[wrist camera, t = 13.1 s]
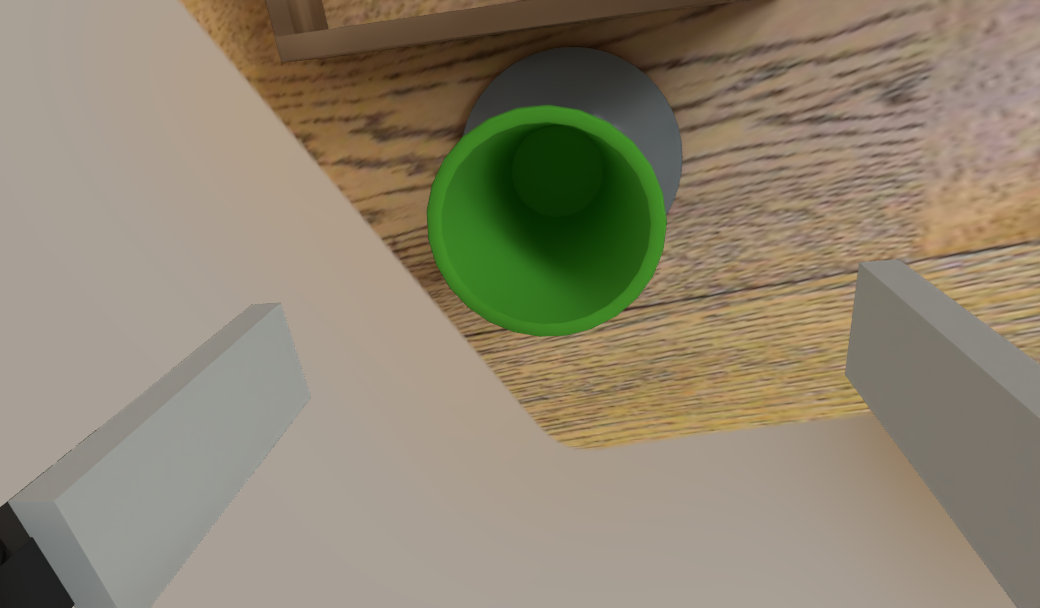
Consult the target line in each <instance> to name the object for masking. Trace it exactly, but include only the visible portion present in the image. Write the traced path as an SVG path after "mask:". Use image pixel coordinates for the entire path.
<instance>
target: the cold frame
mask: <svg viewBox="0 0 1040 608" xmlns="http://www.w3.org/2000/svg"><path fill="white" fill-rule="evenodd" d="M265 1H266V5H267V9H268V12H269V16H270V20H271V23H272V27H273V31H274V35H275V40H276V43H277V47H278V51H279V55H280V58H281V62H292V61H302V60H312V59H321V58H328V57H336V56H343V55H350V54H357V53H365V52H372V51H379V50H387V49H394V48H401V47H408V46H416V45H423V44H430V43H438V42H445V41H452V40H460V39H467V38H474V37H481V36H489V35H496V34H503V33H511V32H518V31H525V30H532V29H540V28H547V27H554V26H562V25H569V24H576V23H583V22H591V21H598V20H605V19H613V18H620V17H627V16H634V15H642V14H649V13H656V12H664V11H671V10H678V9H686V8H693V7H700V6H707V5H715V4H722V3H729V2H737V1H744V0H527V1H520V2H513V3H506V4H499V5H493V6H486V7H479V8H472V9H465V10H458V11H451V12H444V13H437V14H430V15H424V16H417V17H410V18H403V19H396V20H389V21H382V22H375V23H368V24H361V25H354V26H348V27H341V28H334V29H328V26H327V22H326V17H325V13H324V9H323V4H322V0H265Z"/></svg>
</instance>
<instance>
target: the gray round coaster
mask: <svg viewBox="0 0 1040 608" xmlns="http://www.w3.org/2000/svg"><path fill="white" fill-rule="evenodd" d="M541 105H553V106H560V107H566V108H572V109H579V110H582V111H584V112H586V113H589V114H591V115H593V116H596V117H598V118H600V119H602V120H605V121H607V122H609V123H610V124H612V125H613V126H614V127H615V128H617V129H618V130H619V131H621V132H622V133H623V134H624V135H626V136H627V137H628V138H629V139H631V140H632V141H633V142H634V143H635V144H636V146H637V147H638V148H639V150H640V151H641V152H642V154H643V155H644V156H645V158H646V159H647V160H648V162H649V163H650V164H651V166H652V168H653V170H654V173H655V175H656V177H657V180H658V182H659V185H660V187H661V190H662V192H663V197H664V204H665V212H666V215H667V213H668V211H669V209H670V207H671V205H672V203H673V201H674V198H675V195H676V192H677V189H678V186H679V181H680V176H681V171H682V144H681V138H680V133H679V128H678V125H677V122H676V119H675V116H674V114H673V111H672V109H671V107H670V106H669V104H668V102H667V100H666V98H665V97H664V95H663V94H662V93H661V91H660V90H659V88H658V87H657V86H656V85H655V84H654V83H653V82H652V81H651V80H650V79H649V78H648V76H647V75H646V74H644V73H643V72H642V71H640V70H639V69H638V68H636V67H635V66H634V65H633V64H631V63H629V62H627V61H625V60H624V59H622V58H620V57H618V56H616V55H613V54H610V53H608V52H605V51H601V50H597V49H593V48H585V47H559V48H554V49H549V50H545V51H542V52H539V53H536V54H533V55H530V56H528V57H526V58H524V59H522V60H520V61H518V62H516V63H514V64H513V65H512V66H510V67H509V68H507V69H506V70H505V71H503V72H502V73H501V74H500V75H499V76H497V77H496V78H495V79H494V80H493V81H492V82H491V83H490V84H489V86H488V87H487V88H486V89H485V90H484V92H483V93H482V94H481V96H480V97H479V99H478V100H477V102H476V104H475V105H474V107H473V109H472V111H471V113H470V116H469V118H468V120H467V123H466V126H465V130H464V133H463V136H464V135H465V134H467V133H468V132H470V131H471V130H472V129H474V128H475V127H477V126H478V125H480V124H481V123H482V122H484V121H485V120H487V119H488V118H491V117H494V116H496V115H499V114H502V113H504V112H507V111H510V110H513V109H515V108H520V107H531V106H541Z"/></svg>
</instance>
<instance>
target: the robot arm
mask: <svg viewBox="0 0 1040 608" xmlns="http://www.w3.org/2000/svg"><path fill="white" fill-rule="evenodd" d="M845 375H846V377H847V378H848V379H849V381H850V382H851V383H852V385H853V386H854V388H855V389H856V390H857V392H858V393H859V394H860V396H861V397H862V398H863V400H864V401H865V402H866V404H867V405H868V406H869V408H870V409H871V411H872V412H873V413H874V415H875V416H876V417H877V419H878V420H879V421H880V423H881V424H882V425H883V427H884V428H885V429H886V431H887V432H888V433H889V435H890V436H891V438H892V439H893V440H894V442H895V443H896V444H897V446H898V447H899V448H900V450H901V451H902V452H903V454H904V455H905V457H906V458H907V459H908V461H909V462H910V463H911V465H912V466H913V467H914V469H915V470H916V472H917V473H918V474H919V476H920V477H921V478H922V479H923V481H924V482H925V484H926V485H927V486H928V488H929V489H930V491H931V492H932V493H933V494H934V496H935V497H936V499H937V500H938V501H939V503H940V504H941V505H942V507H943V508H944V509H945V511H946V512H947V513H948V515H949V516H950V518H951V519H952V520H953V522H954V523H955V524H956V526H957V527H958V528H959V530H960V531H961V533H962V534H963V535H964V537H965V538H966V539H967V541H968V542H969V543H970V545H971V546H972V547H973V549H974V550H975V551H976V553H977V554H978V556H979V557H980V558H981V560H982V561H983V562H984V564H985V565H986V566H987V568H988V569H989V570H990V572H991V573H992V575H993V576H994V577H995V579H996V580H997V581H998V583H999V584H1000V585H1001V586H1002V588H1003V589H1004V591H1005V592H1006V593H1007V595H1008V596H1009V598H1010V599H1011V600H1012V602H1013V603H1014V604H1015V606H1016V607H1017V608H1040V364H1039V363H1037V362H1036V361H1035V360H1033V359H1032V358H1030V357H1029V356H1028V355H1026V354H1025V353H1024V352H1022V351H1021V350H1020V349H1018V348H1017V347H1016V346H1014V345H1013V344H1012V343H1010V342H1009V341H1008V340H1006V339H1005V338H1004V337H1002V336H1001V335H1000V334H998V333H997V332H996V331H994V330H993V329H992V328H990V327H989V326H987V325H986V324H985V323H983V322H982V321H981V320H979V319H978V318H977V317H975V316H974V315H973V314H971V313H970V312H969V311H967V310H966V309H965V308H963V307H962V306H961V305H959V304H958V303H957V302H955V301H954V300H953V299H951V298H950V297H949V296H947V295H946V294H944V293H943V292H942V291H940V290H939V289H938V288H936V287H935V286H934V285H932V284H931V283H930V282H928V281H927V280H926V279H924V278H923V277H922V276H920V275H919V274H918V273H916V272H915V271H914V270H912V269H911V268H910V267H908V266H907V265H906V264H904V263H903V262H901V261H900V260H885V261H870V262H859V268H858V275H857V283H856V291H855V299H854V307H853V315H852V323H851V331H850V338H849V346H848V354H847V362H846V370H845ZM310 398H311V396H310V393H309V390H308V386H307V384H306V380H305V378H304V374H303V371H302V368H301V365H300V362H299V359H298V355H297V352H296V349H295V346H294V343H293V340H292V337H291V334H290V331H289V327H288V325H287V321H286V318H285V315H284V312H283V309H282V306H281V303H269V304H255V305H251V306H250V307H248V308H247V309H246V310H245V311H243V312H242V313H241V314H240V315H238V316H237V317H236V318H235V319H233V320H232V321H231V322H230V323H229V324H227V325H226V326H225V327H223V328H222V329H221V330H220V331H219V332H217V333H216V334H215V335H214V336H212V337H211V338H210V339H209V340H207V341H206V342H205V343H204V344H203V345H201V346H200V347H199V348H197V349H196V350H195V351H194V352H193V353H191V354H190V355H189V356H188V357H186V358H185V359H184V360H183V361H181V362H180V363H179V364H178V365H176V366H175V367H174V368H173V369H171V370H170V371H169V372H168V373H167V374H165V375H164V376H163V377H162V378H160V379H159V380H158V381H157V382H156V383H154V384H153V385H152V386H151V387H150V388H148V389H147V390H146V391H144V392H143V393H142V394H141V395H139V396H138V397H137V398H136V399H134V400H133V401H132V402H131V403H130V404H128V405H127V406H126V407H124V408H123V409H122V410H121V411H120V412H118V413H117V414H116V415H115V416H113V417H112V418H111V419H110V420H108V421H107V422H106V423H105V424H103V425H102V426H101V427H99V428H98V429H97V430H95V431H94V432H93V433H92V434H90V435H89V436H88V437H87V438H86V439H84V440H83V441H82V442H81V443H79V444H78V445H77V446H76V447H75V448H74V449H73V450H71V451H69V452H68V453H67V454H66V455H64V456H63V457H62V458H61V459H59V460H58V461H57V462H56V463H55V464H54V465H52V466H51V467H50V468H48V469H47V470H46V471H45V472H43V473H42V474H41V475H40V476H38V477H37V478H36V479H35V480H34V481H32V482H31V483H30V484H29V485H27V486H26V487H25V488H24V489H22V490H21V491H20V492H19V493H17V494H16V495H15V496H14V497H13V498H11V499H10V500H9V501H8V502H6V503H5V504H4V505H2V506H1V507H0V608H72V607H73V606H74V607H75V608H151V606H152V605H153V604H154V602H155V601H156V600H157V599H158V597H159V596H160V595H161V593H162V592H163V591H164V589H165V588H166V587H167V585H168V584H169V583H170V582H171V580H172V579H173V578H174V576H175V575H176V574H177V572H178V571H179V570H180V568H181V567H182V566H183V564H184V563H185V562H186V561H187V559H188V558H189V557H190V555H191V554H192V553H193V551H194V550H195V549H196V547H197V546H198V544H200V542H201V541H202V540H203V538H204V537H205V536H206V534H207V533H208V532H209V530H210V529H211V528H212V526H213V525H214V524H215V523H216V521H217V520H218V519H219V517H220V516H221V515H222V513H223V512H224V511H225V509H226V508H227V507H228V506H229V504H230V503H231V502H232V500H233V499H234V498H235V496H236V495H237V494H238V492H239V491H240V489H241V488H242V487H243V486H244V485H245V483H246V482H247V481H248V479H249V478H250V477H251V475H252V474H253V473H254V471H255V470H256V469H257V467H258V466H259V465H260V463H261V462H262V461H263V460H264V458H265V457H266V456H267V454H268V453H269V452H270V450H271V449H272V448H273V447H274V445H275V444H276V443H277V441H278V440H279V439H280V437H281V436H282V435H283V433H284V432H285V431H286V429H287V428H288V427H289V425H290V424H291V423H292V422H293V420H294V419H295V418H296V416H297V415H298V413H299V412H300V411H301V410H302V408H303V407H304V406H305V405H306V403H307V402H308V401H309V399H310Z"/></svg>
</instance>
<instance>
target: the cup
mask: <svg viewBox="0 0 1040 608" xmlns="http://www.w3.org/2000/svg"><path fill="white" fill-rule="evenodd" d="M427 225H428V239H429V243H430V246H431V249H432V253H433V256H434V259H435V262H436V265H437V267H438V269H439V270H440V272H441V274H442V275H443V277H444V279H445V281H446V282H447V284H448V286H449V287H450V288H451V290H452V291H453V292H454V293H455V294H456V295H457V296H458V297H459V298H460V299H461V300H462V301H463V302H464V303H465V304H466V306H467V307H468V308H470V309H471V310H473V311H474V312H476V313H477V314H479V315H480V316H482V317H483V318H484V319H486V320H487V321H489V322H490V323H493V324H495V325H498V326H500V327H503V328H505V329H508V330H510V331H513V332H517V333H522V334H528V335H534V336H540V337H541V336H564V335H570V334H573V333H577V332H581V331H585V330H589V329H592V328H594V327H596V326H598V325H600V324H602V323H604V322H606V321H608V320H610V319H611V318H613V317H615V316H617V315H618V314H619V313H620V312H622V311H623V310H624V309H625V308H626V307H627V306H629V305H630V304H631V303H632V302H633V301H634V300H636V299H637V298H638V296H639V295H640V293H641V292H642V291H643V289H644V288H645V286H646V285H647V284H648V282H649V281H650V280H651V278H652V277H653V275H654V272H655V270H656V267H657V265H658V262H659V260H660V257H661V255H662V252H663V248H664V241H665V233H666V225H667V220H666V212H665V204H664V197H663V192H662V190H661V187H660V185H659V182H658V180H657V177H656V175H655V173H654V170H653V168H652V166H651V164H650V163H649V162H648V160H647V159H646V158H645V156H644V155H643V154H642V152H641V151H640V150H639V148H638V147H637V146H636V144H635V143H634V142H633V141H632V140H631V139H629V138H628V137H627V136H626V135H624V134H623V133H622V132H621V131H619V130H618V129H617V128H615V127H614V126H613V125H612V124H610V123H609V122H607V121H605V120H602V119H600V118H598V117H596V116H593V115H591V114H589V113H586V112H584V111H582V110H579V109H572V108H566V107H560V106H553V105H541V106H531V107H520V108H515V109H513V110H510V111H507V112H504V113H502V114H499V115H496V116H494V117H491V118H488V119H487V120H485V121H484V122H482V123H481V124H480V125H478V126H477V127H475V128H474V129H472V130H471V131H470V132H468V133H467V134H465V135H464V136H463V137H462V138H461V139H460V140H459V142H458V143H457V144H456V145H455V146H454V148H453V149H452V150H451V151H450V152H449V153H448V155H447V156H446V157H445V158H444V160H443V162H442V164H441V166H440V169H439V171H438V173H437V175H436V177H435V179H434V181H433V183H432V187H431V192H430V197H429V202H428V207H427Z"/></svg>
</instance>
